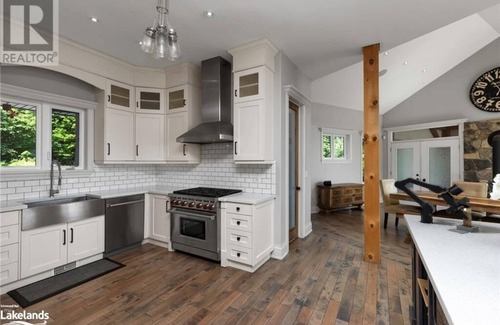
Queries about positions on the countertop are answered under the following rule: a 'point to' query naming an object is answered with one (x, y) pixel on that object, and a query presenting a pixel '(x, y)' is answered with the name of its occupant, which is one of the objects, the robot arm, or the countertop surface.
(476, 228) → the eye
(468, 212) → the hook peg
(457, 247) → the countertop surface
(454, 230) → the pad
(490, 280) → the countertop surface
